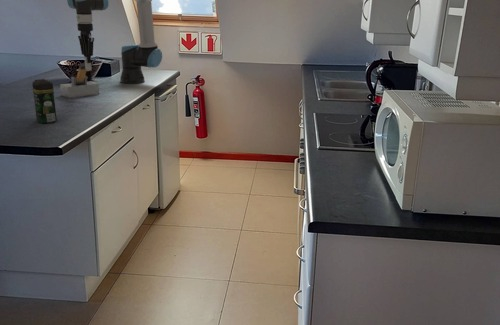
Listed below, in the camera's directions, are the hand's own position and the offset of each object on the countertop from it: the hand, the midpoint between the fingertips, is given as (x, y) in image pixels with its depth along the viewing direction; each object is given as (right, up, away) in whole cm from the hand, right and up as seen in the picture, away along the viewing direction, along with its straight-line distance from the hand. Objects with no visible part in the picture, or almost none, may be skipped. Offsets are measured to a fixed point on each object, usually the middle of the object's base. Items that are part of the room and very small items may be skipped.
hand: (88, 68), depth 261 cm
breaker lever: (-9, -6, +11) cm, 16 cm away
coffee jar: (-5, -31, -41) cm, 52 cm away
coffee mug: (-15, -4, +35) cm, 39 cm away
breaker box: (-9, -12, +13) cm, 20 cm away
